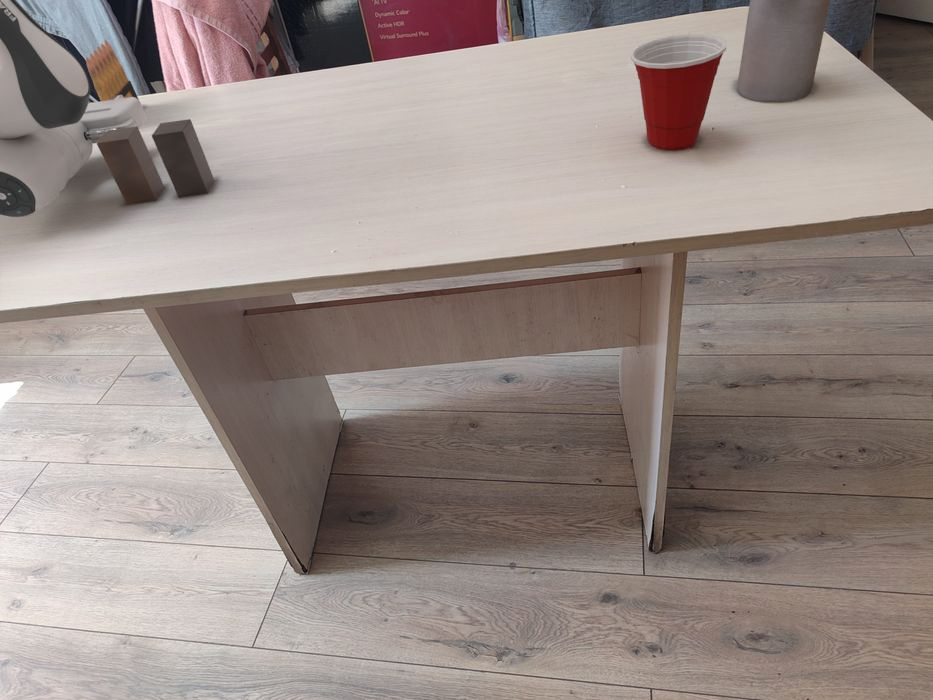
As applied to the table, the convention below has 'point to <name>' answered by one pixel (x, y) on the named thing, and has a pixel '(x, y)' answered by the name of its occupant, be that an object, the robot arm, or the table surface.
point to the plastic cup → (676, 86)
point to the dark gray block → (183, 158)
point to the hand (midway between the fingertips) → (90, 104)
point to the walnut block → (131, 165)
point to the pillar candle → (781, 48)
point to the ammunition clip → (108, 74)
